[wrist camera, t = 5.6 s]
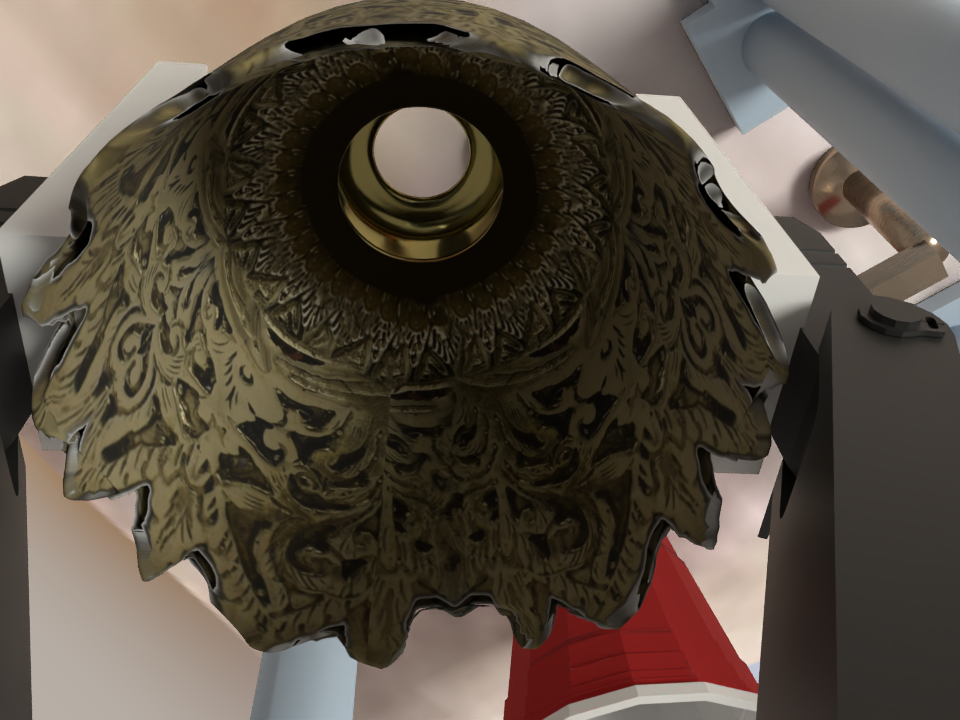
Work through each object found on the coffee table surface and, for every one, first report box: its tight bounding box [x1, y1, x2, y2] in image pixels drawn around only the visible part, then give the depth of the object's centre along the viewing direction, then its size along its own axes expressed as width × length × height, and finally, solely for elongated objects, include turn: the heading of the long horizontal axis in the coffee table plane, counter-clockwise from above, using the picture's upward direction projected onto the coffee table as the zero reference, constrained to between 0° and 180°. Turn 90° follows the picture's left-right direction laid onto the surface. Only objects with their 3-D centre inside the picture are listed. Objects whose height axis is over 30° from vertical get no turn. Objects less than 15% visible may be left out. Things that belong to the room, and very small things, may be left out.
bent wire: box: [809, 147, 949, 301], centre depth 28 cm, size 10×12×6 cm
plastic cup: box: [503, 536, 759, 720], centre depth 35 cm, size 11×11×12 cm
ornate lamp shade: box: [21, 0, 789, 669], centre depth 12 cm, size 8×7×8 cm
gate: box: [250, 0, 960, 720], centre depth 20 cm, size 4×20×24 cm, turn 124°
